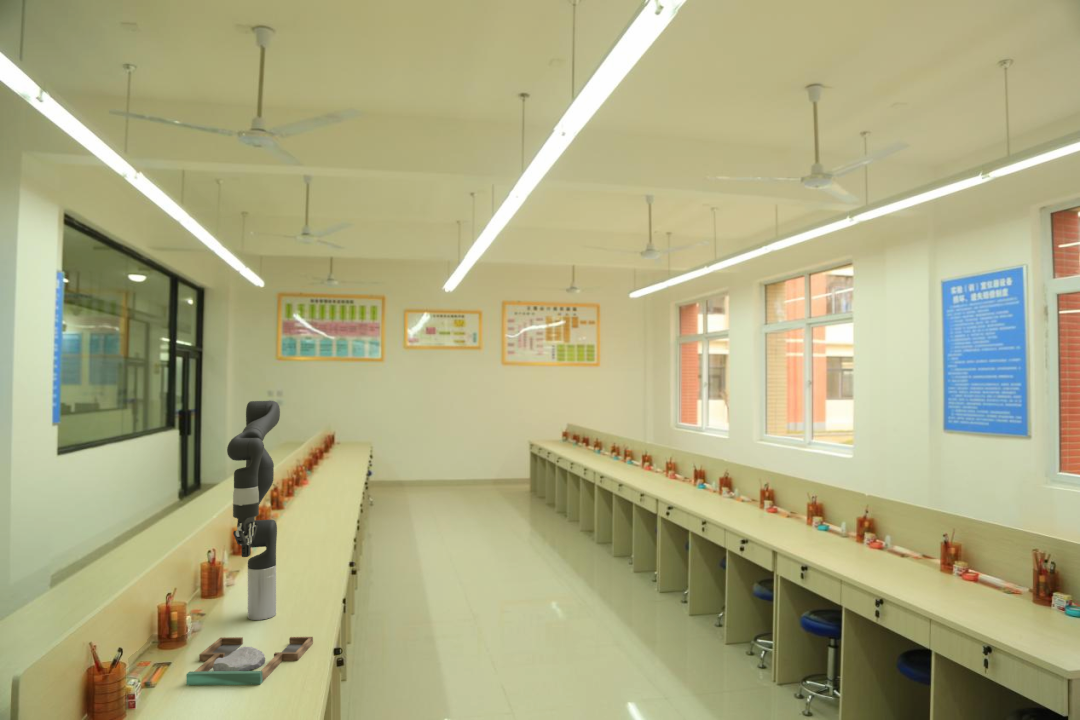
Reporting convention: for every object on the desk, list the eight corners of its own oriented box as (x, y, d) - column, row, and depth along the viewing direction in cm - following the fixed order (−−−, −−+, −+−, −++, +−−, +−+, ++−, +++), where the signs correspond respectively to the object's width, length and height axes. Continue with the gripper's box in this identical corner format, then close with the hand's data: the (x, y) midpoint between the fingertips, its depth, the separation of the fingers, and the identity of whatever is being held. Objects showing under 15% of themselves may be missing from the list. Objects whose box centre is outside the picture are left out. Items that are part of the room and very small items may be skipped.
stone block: (268, 669, 197) (245, 656, 202) (270, 653, 197) (247, 641, 201) (233, 687, 187) (209, 673, 191) (235, 671, 186) (211, 657, 191)
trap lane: (220, 643, 211) (220, 634, 211) (312, 643, 211) (312, 633, 211) (169, 685, 183) (169, 674, 183) (276, 684, 183) (276, 673, 183)
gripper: (243, 497, 220) (243, 551, 220) (224, 505, 207) (224, 562, 206) (266, 497, 220) (266, 550, 220) (248, 505, 207) (248, 562, 206)
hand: (246, 556), depth 213 cm, fingers closed
